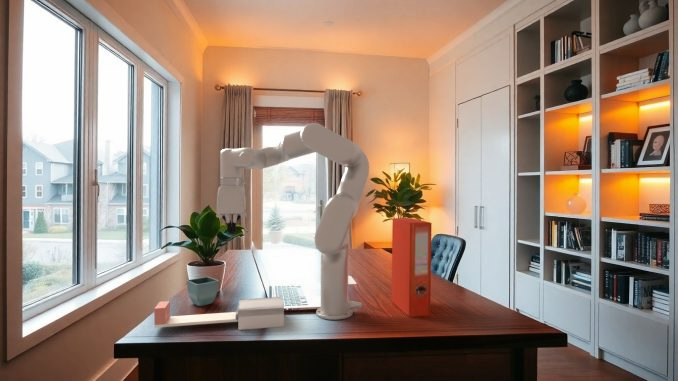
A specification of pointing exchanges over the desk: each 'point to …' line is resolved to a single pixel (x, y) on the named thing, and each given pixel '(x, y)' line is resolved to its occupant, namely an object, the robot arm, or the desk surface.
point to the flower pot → (202, 290)
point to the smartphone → (351, 281)
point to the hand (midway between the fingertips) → (231, 233)
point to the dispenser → (260, 313)
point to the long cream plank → (187, 317)
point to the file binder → (411, 266)
